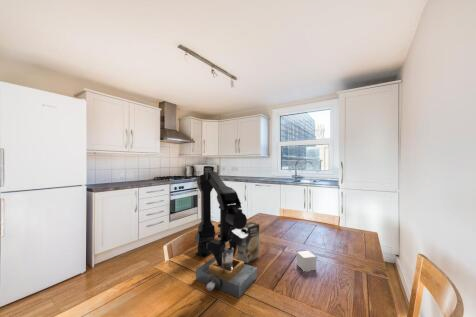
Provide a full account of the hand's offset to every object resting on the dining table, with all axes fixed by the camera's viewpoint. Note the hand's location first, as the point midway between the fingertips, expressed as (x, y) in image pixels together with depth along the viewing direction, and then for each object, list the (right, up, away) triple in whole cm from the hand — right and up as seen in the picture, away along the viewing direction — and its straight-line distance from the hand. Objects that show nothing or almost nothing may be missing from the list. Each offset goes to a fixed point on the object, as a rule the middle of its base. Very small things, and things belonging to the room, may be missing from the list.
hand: (226, 260), depth 79 cm
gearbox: (-1, -7, -2) cm, 8 cm away
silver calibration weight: (0, -3, 0) cm, 3 cm away
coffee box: (+10, -8, +17) cm, 21 cm away
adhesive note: (+35, -8, +9) cm, 37 cm away
